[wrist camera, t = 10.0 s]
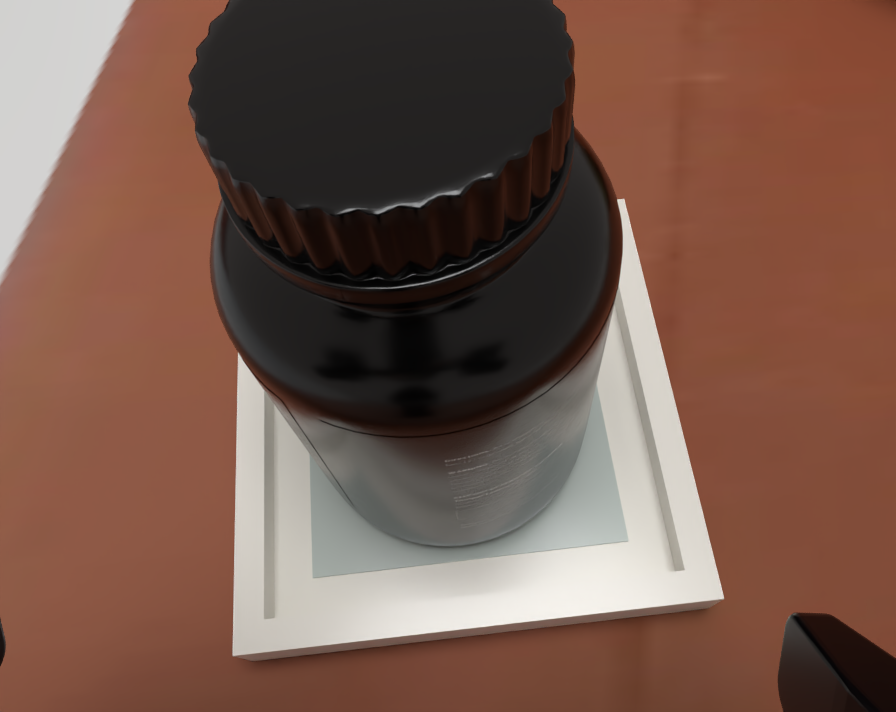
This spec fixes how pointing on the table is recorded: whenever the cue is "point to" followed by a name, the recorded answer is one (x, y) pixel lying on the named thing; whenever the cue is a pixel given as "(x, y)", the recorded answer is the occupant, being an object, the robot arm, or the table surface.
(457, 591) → the cream ceramic dish
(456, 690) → the table surface
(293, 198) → the supplement bottle
